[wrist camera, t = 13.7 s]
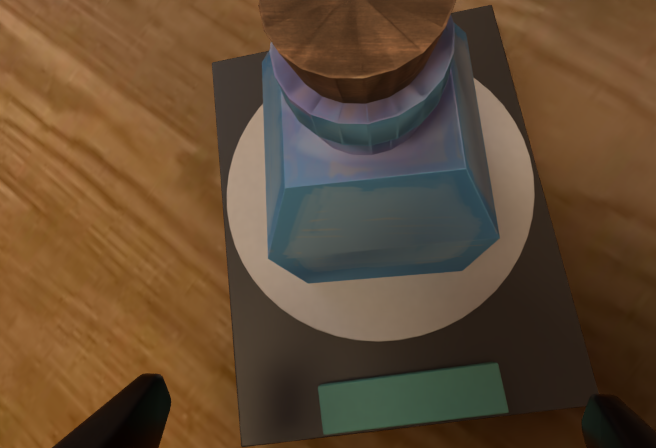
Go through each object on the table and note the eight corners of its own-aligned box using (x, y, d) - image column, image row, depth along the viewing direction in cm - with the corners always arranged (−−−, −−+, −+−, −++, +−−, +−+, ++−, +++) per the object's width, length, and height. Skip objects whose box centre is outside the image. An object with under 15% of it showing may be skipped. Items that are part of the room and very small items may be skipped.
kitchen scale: (576, 396, 19) (614, 408, 16) (257, 434, 20) (233, 453, 17) (481, 36, 23) (496, -10, 20) (227, 87, 25) (204, 51, 22)
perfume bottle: (307, 283, 18) (165, 195, 7) (300, 144, 20) (174, -124, 8) (462, 270, 17) (603, 147, 6) (442, 127, 19) (523, -192, 7)
